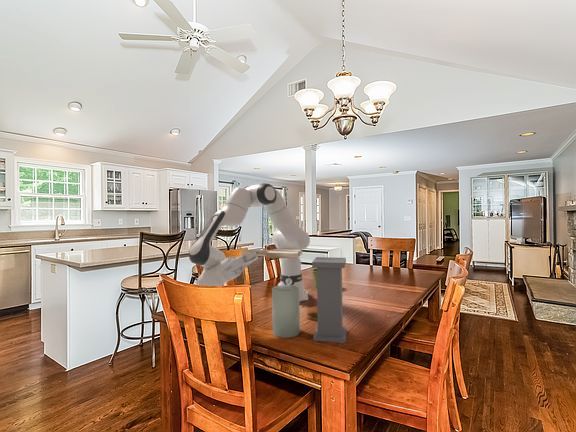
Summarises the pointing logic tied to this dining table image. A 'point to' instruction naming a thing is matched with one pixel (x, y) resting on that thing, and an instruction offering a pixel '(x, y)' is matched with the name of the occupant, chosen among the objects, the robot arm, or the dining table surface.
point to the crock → (285, 311)
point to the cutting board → (276, 253)
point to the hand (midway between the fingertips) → (258, 251)
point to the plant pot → (315, 276)
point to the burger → (312, 313)
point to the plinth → (329, 300)
